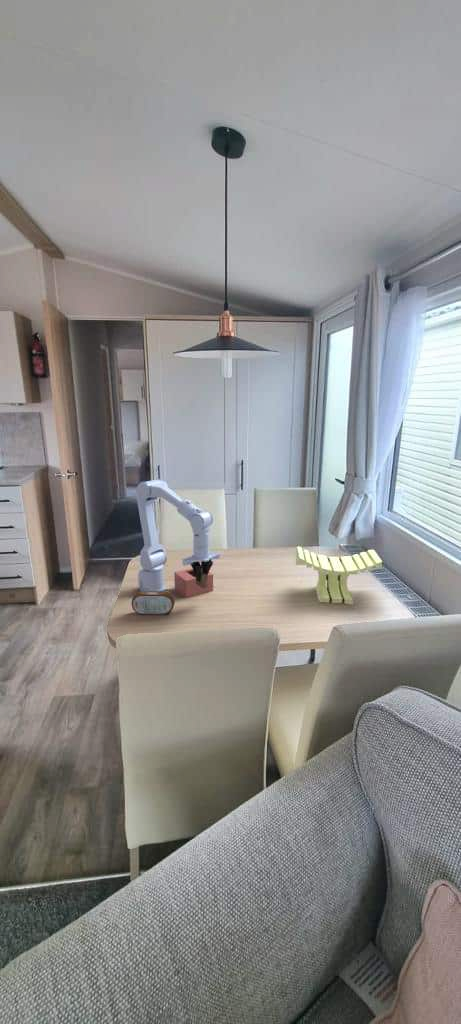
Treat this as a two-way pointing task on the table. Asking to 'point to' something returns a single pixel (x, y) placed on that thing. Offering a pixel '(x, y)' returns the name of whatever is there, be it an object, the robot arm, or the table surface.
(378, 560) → the slatted curved stool
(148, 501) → the robot arm
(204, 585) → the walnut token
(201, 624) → the table surface
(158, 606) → the tin
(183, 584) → the money box
